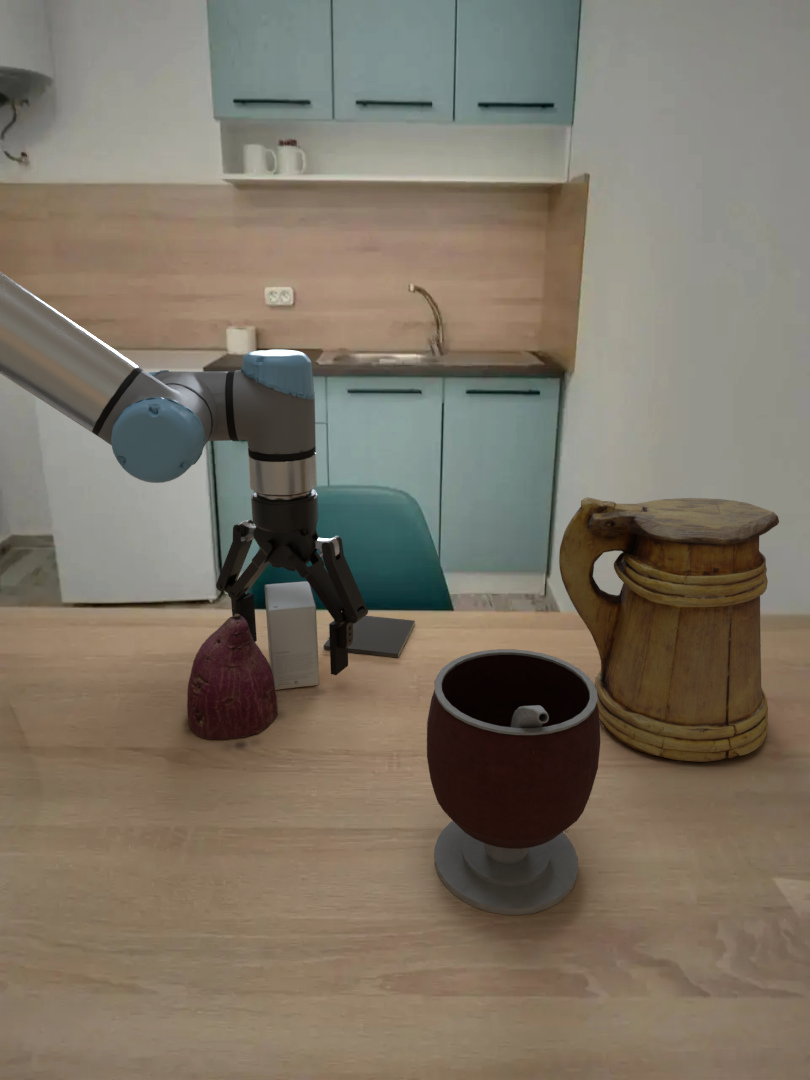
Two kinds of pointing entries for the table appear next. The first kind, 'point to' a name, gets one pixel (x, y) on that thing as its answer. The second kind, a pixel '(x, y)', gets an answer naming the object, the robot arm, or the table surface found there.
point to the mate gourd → (511, 775)
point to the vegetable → (230, 685)
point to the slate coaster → (379, 636)
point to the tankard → (675, 622)
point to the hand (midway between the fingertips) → (292, 657)
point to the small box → (292, 634)
